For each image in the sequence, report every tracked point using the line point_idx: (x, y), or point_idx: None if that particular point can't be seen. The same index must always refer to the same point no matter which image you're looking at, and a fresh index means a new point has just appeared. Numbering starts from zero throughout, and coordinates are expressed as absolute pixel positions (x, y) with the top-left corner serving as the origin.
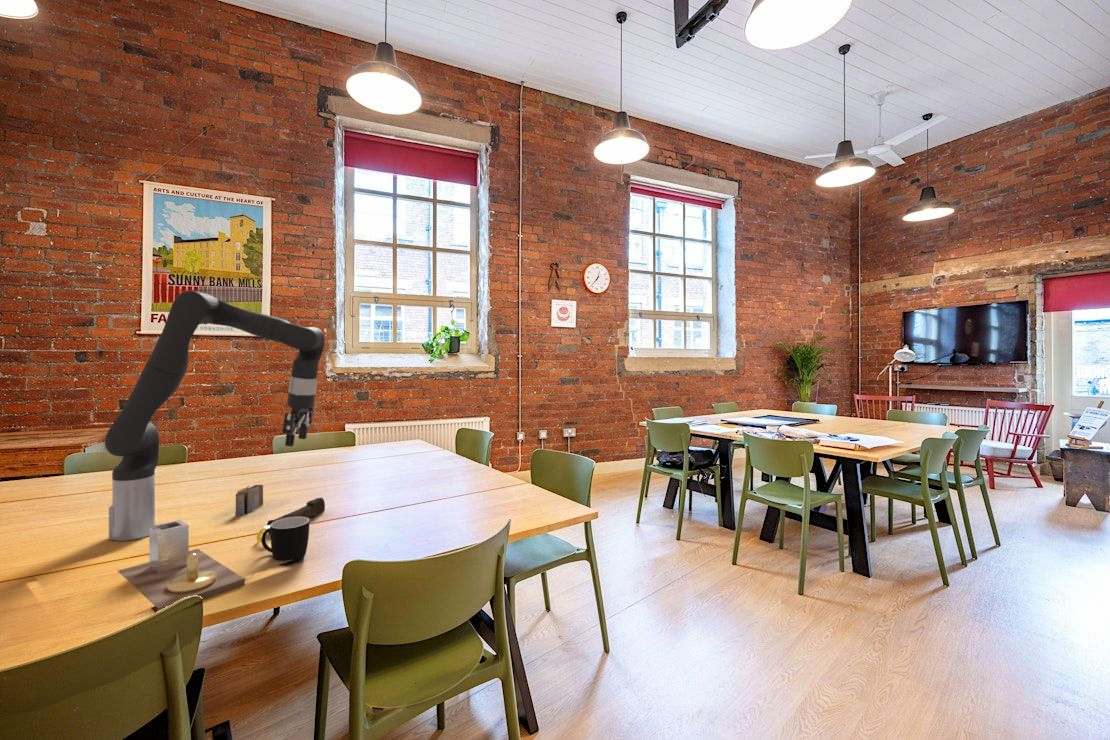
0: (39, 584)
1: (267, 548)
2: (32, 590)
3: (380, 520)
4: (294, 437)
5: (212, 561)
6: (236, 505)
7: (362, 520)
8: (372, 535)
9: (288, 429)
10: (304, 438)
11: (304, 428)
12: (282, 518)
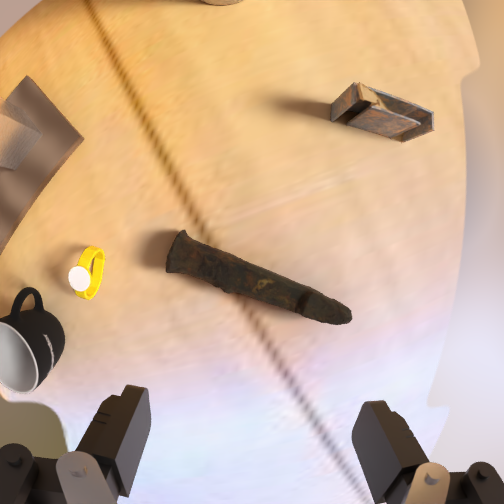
0: (46, 10)
1: (34, 297)
2: (31, 19)
3: (251, 444)
4: (131, 475)
5: (20, 204)
6: (341, 96)
7: (256, 415)
8: (163, 445)
9: (84, 497)
10: (353, 435)
11: (382, 490)
12: (194, 267)
